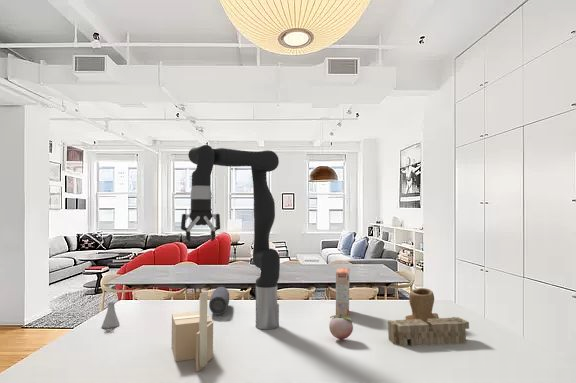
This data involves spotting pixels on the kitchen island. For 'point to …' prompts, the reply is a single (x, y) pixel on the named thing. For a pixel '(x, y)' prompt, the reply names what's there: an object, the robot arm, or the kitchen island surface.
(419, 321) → the block tower
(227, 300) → the bluetooth speaker
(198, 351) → the beige l-shaped piece
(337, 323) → the decorative fruit
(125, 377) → the kitchen island surface
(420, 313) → the stone cup
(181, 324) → the brown carton
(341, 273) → the cracker box
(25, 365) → the kitchen island surface
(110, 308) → the flask
